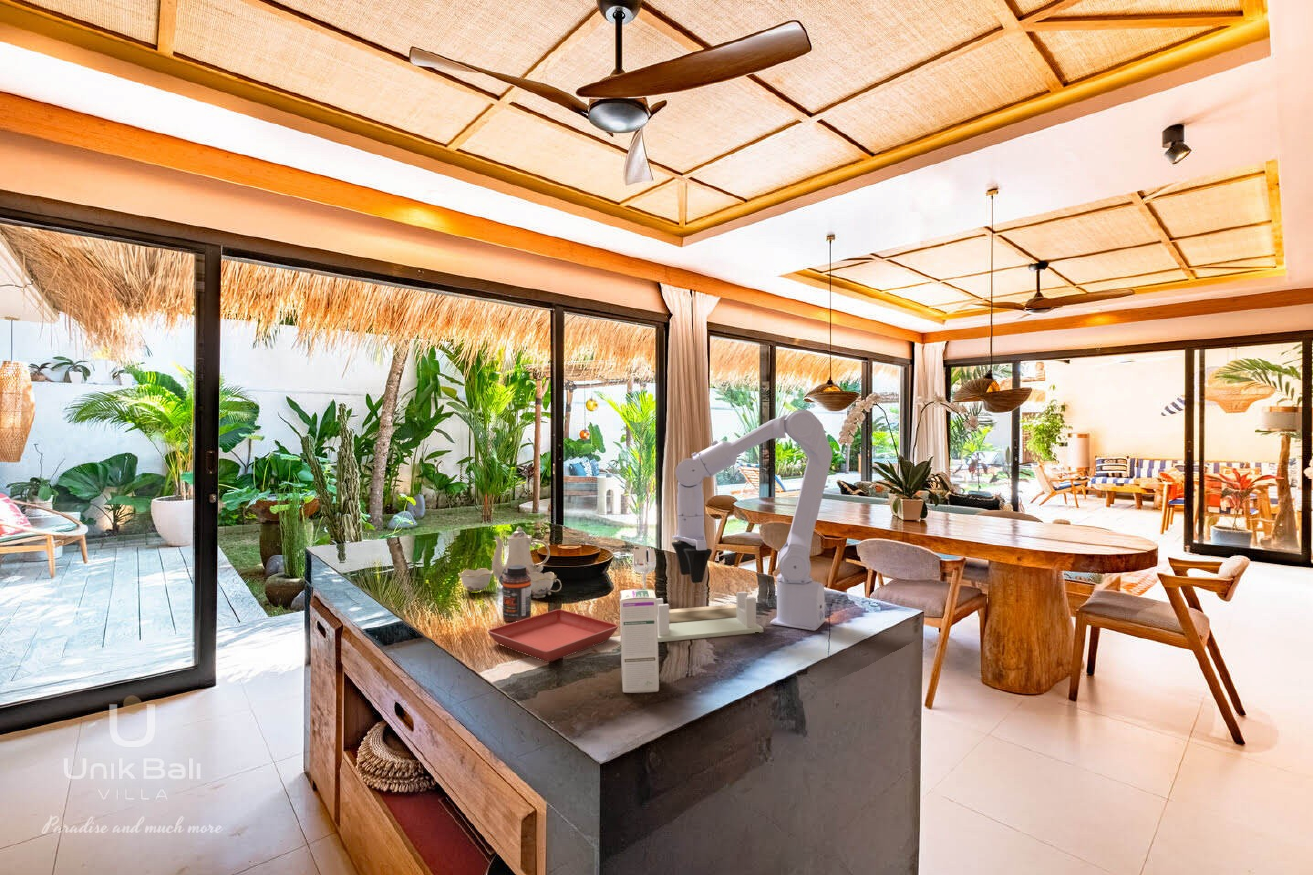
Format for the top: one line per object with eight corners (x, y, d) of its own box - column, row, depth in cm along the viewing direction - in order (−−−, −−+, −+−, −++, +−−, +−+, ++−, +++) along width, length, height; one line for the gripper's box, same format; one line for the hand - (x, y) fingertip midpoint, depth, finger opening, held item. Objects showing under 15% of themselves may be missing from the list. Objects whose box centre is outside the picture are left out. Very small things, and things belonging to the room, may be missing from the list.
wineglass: (653, 600, 145) (653, 550, 145) (630, 599, 146) (629, 549, 146) (658, 594, 151) (658, 546, 151) (635, 593, 152) (635, 545, 152)
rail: (738, 615, 134) (738, 604, 134) (742, 618, 132) (742, 607, 132) (640, 622, 129) (640, 611, 129) (642, 626, 127) (642, 614, 127)
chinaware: (447, 603, 151) (443, 537, 150) (478, 580, 168) (475, 521, 166) (556, 608, 146) (552, 540, 145) (577, 584, 163) (574, 522, 161)
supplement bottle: (497, 621, 131) (496, 568, 130) (513, 613, 136) (513, 562, 136) (520, 624, 128) (520, 570, 128) (536, 616, 134) (536, 564, 134)
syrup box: (659, 692, 93) (658, 597, 93) (621, 693, 93) (620, 598, 93) (656, 677, 99) (655, 587, 99) (620, 678, 99) (619, 588, 99)
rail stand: (747, 620, 129) (747, 589, 129) (763, 631, 121) (763, 599, 121) (646, 629, 124) (645, 597, 124) (655, 642, 116) (655, 608, 116)
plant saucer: (546, 669, 104) (546, 650, 104) (485, 646, 116) (485, 629, 116) (620, 642, 118) (620, 624, 118) (559, 624, 129) (559, 608, 129)
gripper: (663, 511, 137) (664, 572, 137) (682, 519, 123) (683, 587, 123) (693, 510, 139) (694, 570, 139) (715, 518, 125) (716, 584, 125)
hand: (691, 578), depth 131 cm, fingers open, 7 cm apart
